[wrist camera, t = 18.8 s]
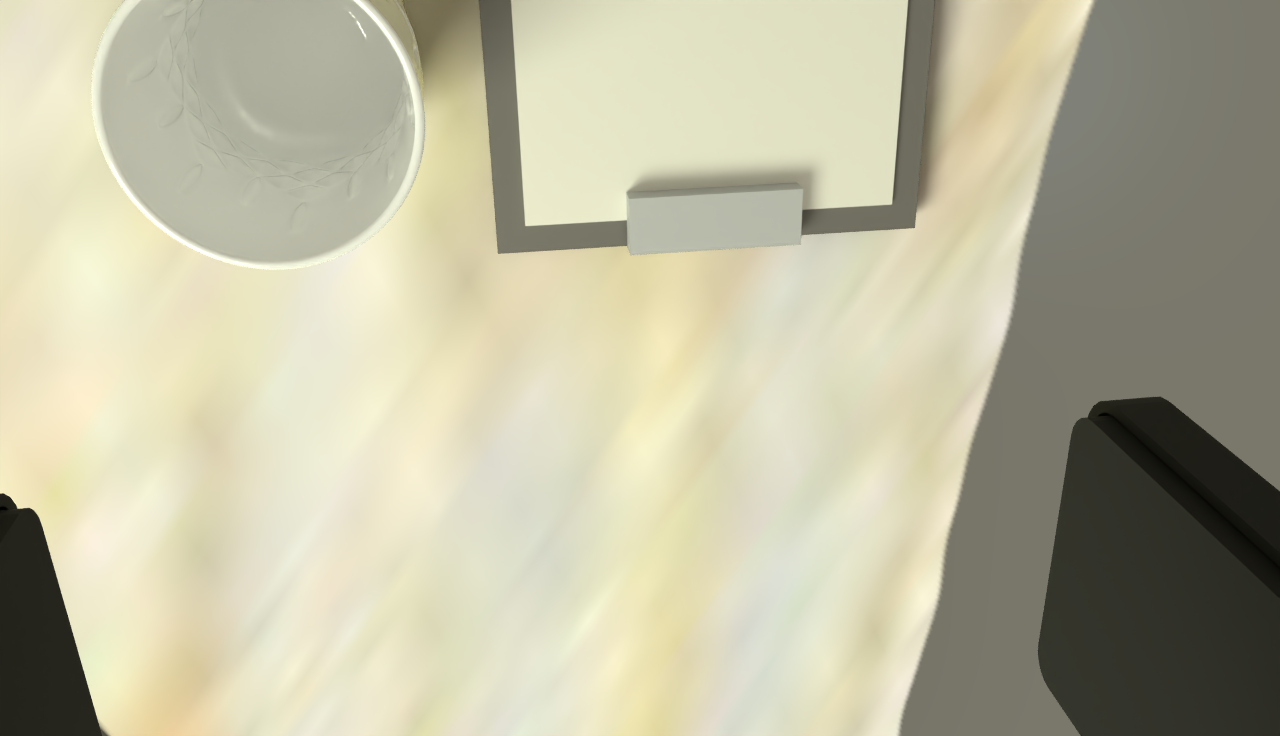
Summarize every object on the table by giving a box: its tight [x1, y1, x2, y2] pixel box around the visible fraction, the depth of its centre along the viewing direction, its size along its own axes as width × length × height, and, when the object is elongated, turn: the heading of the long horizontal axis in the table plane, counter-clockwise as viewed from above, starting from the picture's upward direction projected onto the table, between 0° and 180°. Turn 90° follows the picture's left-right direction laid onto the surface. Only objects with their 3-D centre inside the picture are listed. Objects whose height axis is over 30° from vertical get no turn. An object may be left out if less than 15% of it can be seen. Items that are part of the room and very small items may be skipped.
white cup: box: [91, 0, 425, 269], centre depth 33 cm, size 8×8×10 cm
